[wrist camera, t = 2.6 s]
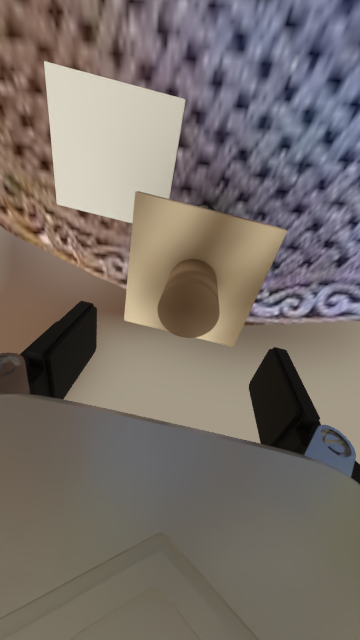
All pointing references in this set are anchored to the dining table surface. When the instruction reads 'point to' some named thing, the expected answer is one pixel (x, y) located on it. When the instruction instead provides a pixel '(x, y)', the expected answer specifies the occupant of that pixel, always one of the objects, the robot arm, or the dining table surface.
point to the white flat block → (110, 141)
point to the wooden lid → (195, 268)
